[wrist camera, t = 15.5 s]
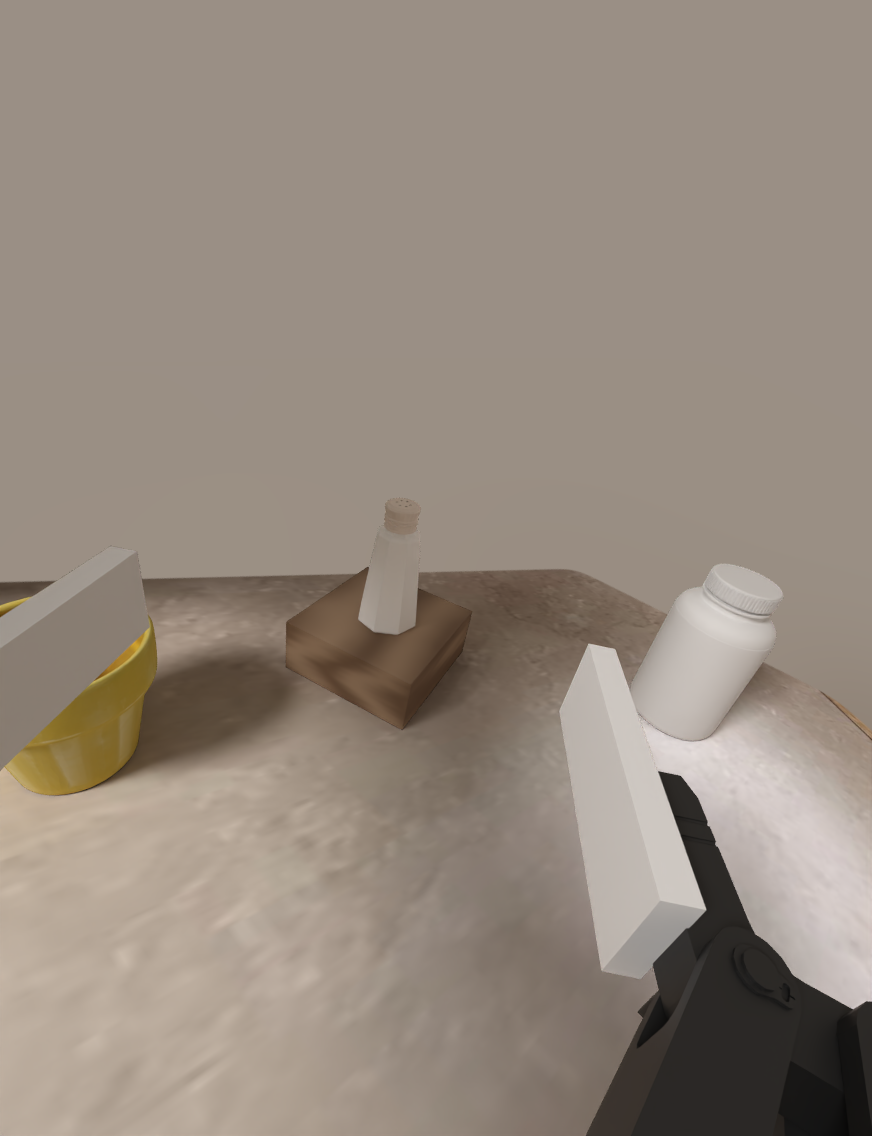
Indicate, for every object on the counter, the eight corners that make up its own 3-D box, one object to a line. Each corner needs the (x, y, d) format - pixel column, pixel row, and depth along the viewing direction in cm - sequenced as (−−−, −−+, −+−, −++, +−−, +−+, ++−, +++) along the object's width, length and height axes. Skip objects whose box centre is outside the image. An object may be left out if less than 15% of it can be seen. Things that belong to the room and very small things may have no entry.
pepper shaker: (349, 602, 43) (359, 489, 38) (404, 596, 45) (422, 489, 40) (367, 640, 39) (381, 520, 34) (426, 631, 41) (449, 517, 36)
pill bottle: (702, 760, 41) (798, 621, 33) (615, 706, 45) (682, 571, 37) (722, 713, 46) (807, 585, 39) (642, 669, 50) (706, 545, 43)
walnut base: (285, 666, 42) (286, 621, 39) (363, 605, 52) (367, 566, 49) (402, 730, 38) (410, 684, 36) (462, 651, 48) (472, 611, 45)
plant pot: (159, 678, 38) (142, 577, 34) (181, 781, 31) (164, 672, 27) (-11, 720, 33) (-62, 606, 28) (-31, 857, 26) (-103, 736, 21)
